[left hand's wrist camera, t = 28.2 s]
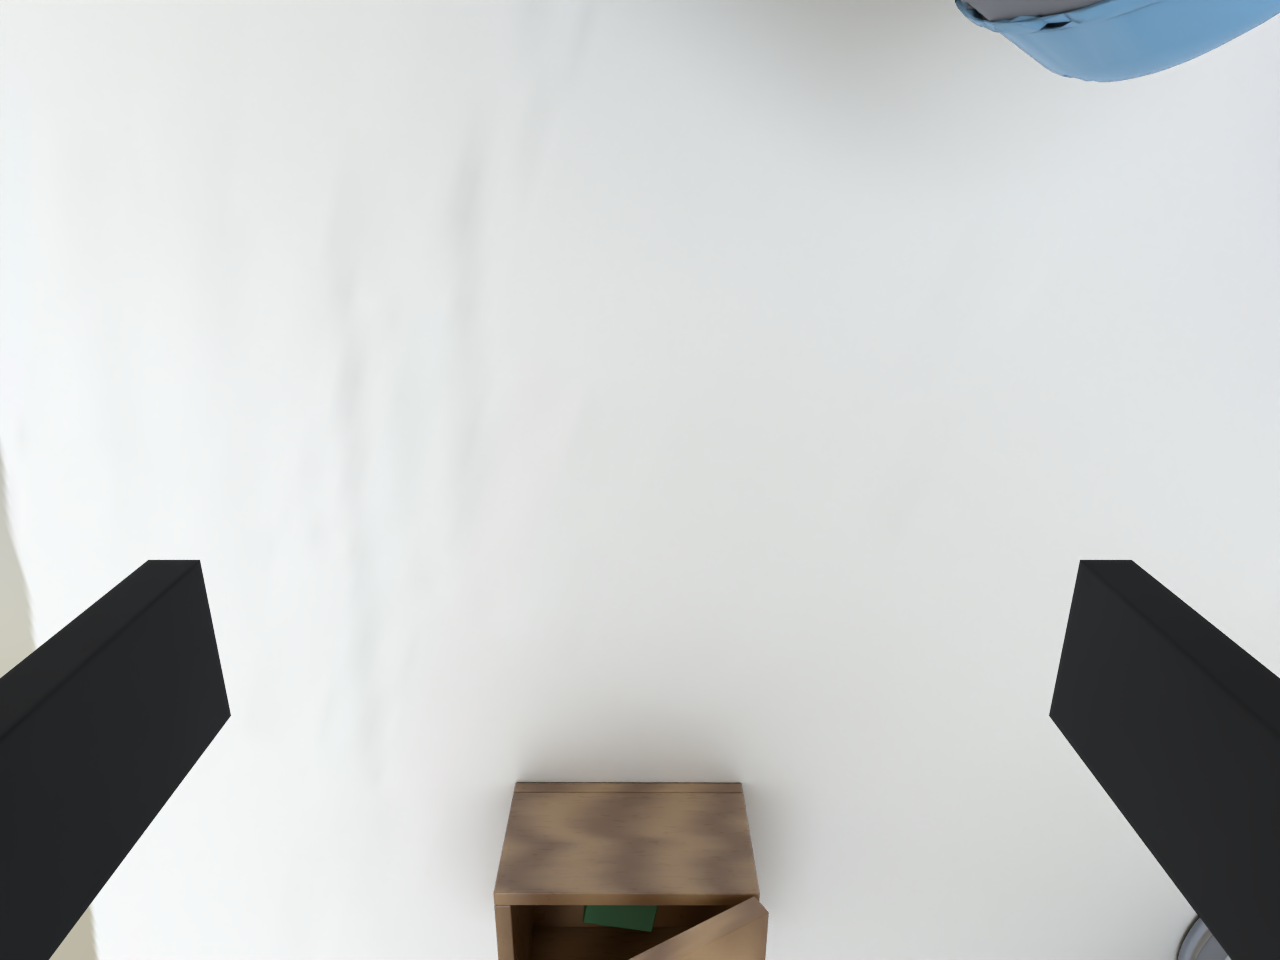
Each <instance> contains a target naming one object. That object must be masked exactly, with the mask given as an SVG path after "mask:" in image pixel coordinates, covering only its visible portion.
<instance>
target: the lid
mask: <svg viewBox="0 0 1280 960" xmlns="http://www.w3.org/2000/svg"><path fill="white" fill-rule="evenodd" d="M768 914H769V913H768V911H767V910H766V909H765V908H764V907H763V906H762V904H761V903H760V902H759V901H758V900H757V899H756V898H755V897H752V898H750V899H748V900H746V901H744V902H742V903H740V904H738V905H736V906H734V907H732V908H730V909H728V910H726V911H724V912H722V913H720V914H718V915H716V916H714V917H712V918H710V919H708V920H706V921H704V922H702V923H700V924H698V925H696V926H694V927H692V928H690V929H688V930H686V931H684V932H682V933H680V934H678V935H676V936H674V937H672V938H670V939H668V940H666V941H664V942H662V943H660V944H659V945H657V946H655V947H653V948H651V949H649V950H647V951H645V952H643V953H641V954H639V955H637V956H635V957H633V958H631V959H629V960H765V955H766V942H767V928H768Z"/></svg>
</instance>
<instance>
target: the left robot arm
mask: <svg viewBox="0 0 1280 960" xmlns="http://www.w3.org/2000/svg"><path fill="white" fill-rule="evenodd" d="M955 3H956V5H957V7H958V8H959V10H960V11H961V12H962V13H963V14H964V15H965V16H966V17H967V18H968V19H969V20H970V21H971V22H973V23H974V24H977V25H979V26H981V27H985V28H987V29H990V30H992V31H994V32H999V33H1001V34H1002V35H1003V36H1005V37H1006V38H1007V39H1009V40H1010V41H1011V42H1012V43H1014V44H1015V45H1016V46H1018V47H1019V48H1020V49H1022V50H1023V51H1024V52H1025V53H1027V54H1028V55H1029V56H1031V57H1032V58H1033V59H1035V60H1036V61H1037V62H1039V63H1040V64H1041V65H1042V66H1044V67H1045V68H1047V69H1048V70H1050V71H1051V72H1054V73H1056V74H1059V75H1061V76H1064V77H1069V78H1078V79H1081V80H1085V81H1097V82H1113V81H1121V80H1127V79H1132V78H1136V77H1141V76H1145V75H1148V74H1152V73H1156V72H1159V71H1162V70H1165V69H1168V68H1171V67H1173V66H1176V65H1179V64H1181V63H1184V62H1186V61H1189V60H1191V59H1194V58H1196V57H1198V56H1200V55H1202V54H1204V53H1207V52H1209V51H1211V50H1213V49H1215V48H1217V47H1219V46H1221V45H1223V44H1225V43H1227V42H1229V41H1231V40H1233V39H1234V38H1236V37H1238V36H1240V35H1242V34H1244V33H1246V32H1247V31H1249V30H1251V29H1253V28H1255V27H1257V26H1258V25H1260V24H1262V23H1264V22H1265V21H1267V20H1269V19H1270V18H1272V17H1274V16H1275V15H1277V14H1278V13H1280V0H955ZM230 716H231V714H230V709H229V704H228V699H227V694H226V689H225V684H224V679H223V674H222V669H221V664H220V659H219V654H218V649H217V644H216V639H215V634H214V629H213V624H212V619H211V614H210V609H209V604H208V599H207V594H206V589H205V583H204V578H203V573H202V568H201V563H200V560H148V561H147V562H145V563H144V564H143V565H142V566H140V567H139V568H138V569H137V570H135V571H134V572H133V573H132V574H130V575H129V576H128V577H127V578H125V579H124V580H123V581H122V582H120V583H119V584H118V585H117V586H115V587H114V588H113V589H112V590H110V591H109V592H108V593H107V594H105V595H104V596H103V597H102V598H100V599H99V600H98V601H97V602H95V603H94V604H93V605H92V606H90V607H89V608H88V609H87V610H85V611H84V612H83V613H82V614H80V615H79V616H78V617H77V618H75V619H74V620H73V621H72V622H70V623H69V624H68V625H67V626H65V627H64V628H63V629H62V630H60V631H59V632H58V633H57V634H55V635H54V636H53V637H52V638H50V639H49V640H48V641H47V642H45V643H44V644H43V645H42V646H40V647H39V648H38V649H37V650H35V651H34V652H33V653H32V654H30V655H29V656H28V657H27V658H25V659H24V660H23V661H22V662H20V663H19V664H18V665H16V666H15V667H14V668H13V669H11V670H10V671H9V672H8V673H6V674H5V675H4V676H3V677H1V678H0V960H49V959H50V957H51V956H52V955H53V953H54V952H55V951H56V949H57V948H58V947H59V945H60V944H61V943H62V941H63V940H64V939H65V937H66V936H67V935H68V933H69V932H70V930H71V929H72V928H73V926H74V925H75V924H76V922H77V921H78V920H79V918H80V917H81V916H82V914H83V913H84V912H85V910H86V909H87V908H88V906H89V905H90V904H91V902H92V901H93V900H94V898H95V897H96V896H97V894H98V893H99V892H100V890H101V889H102V888H103V886H104V885H105V884H106V882H107V881H108V880H109V878H110V877H111V876H112V874H113V873H114V872H115V870H116V869H117V868H118V866H119V865H120V864H121V862H122V861H123V859H124V858H125V857H126V855H127V854H128V853H129V851H130V850H131V849H132V847H133V846H134V845H135V843H136V842H137V841H138V839H139V838H140V837H141V835H142V834H143V833H144V831H145V830H146V829H147V827H148V826H149V825H150V823H151V822H152V821H153V819H154V818H155V817H156V815H157V814H158V813H159V811H160V810H161V809H162V807H163V806H164V805H165V803H166V802H167V801H168V799H169V798H170V796H171V795H172V794H173V792H174V791H175V790H176V788H177V787H178V786H179V784H180V783H181V782H182V780H183V779H184V778H185V776H186V775H187V774H188V772H189V771H190V770H191V768H192V767H193V766H194V764H195V763H196V762H197V760H198V759H199V758H200V756H201V755H202V754H203V752H204V751H205V750H206V748H207V747H208V746H209V744H210V743H211V742H212V740H213V739H214V738H215V736H216V735H217V733H218V732H219V731H220V729H221V728H222V727H223V725H224V724H225V723H226V721H227V720H228V719H229V717H230ZM1049 716H1050V717H1051V719H1052V720H1053V721H1054V723H1055V724H1056V725H1057V727H1058V728H1059V729H1060V731H1061V732H1062V733H1063V735H1064V736H1065V738H1066V739H1067V740H1068V742H1069V743H1070V744H1071V746H1072V747H1073V748H1074V750H1075V751H1076V752H1077V754H1078V755H1079V756H1080V758H1081V759H1082V760H1083V762H1084V763H1085V764H1086V766H1087V767H1088V768H1089V770H1090V771H1091V772H1092V774H1093V775H1094V776H1095V778H1096V779H1097V780H1098V782H1099V783H1100V784H1101V786H1102V787H1103V788H1104V790H1105V791H1106V792H1107V794H1108V795H1109V796H1110V798H1111V799H1112V801H1113V802H1114V803H1115V805H1116V806H1117V807H1118V809H1119V810H1120V811H1121V813H1122V814H1123V815H1124V817H1125V818H1126V819H1127V821H1128V822H1129V823H1130V825H1131V826H1132V827H1133V829H1134V830H1135V831H1136V833H1137V834H1138V835H1139V837H1140V838H1141V839H1142V841H1143V842H1144V843H1145V845H1146V846H1147V847H1148V849H1149V850H1150V851H1151V853H1152V854H1153V855H1154V857H1155V858H1156V859H1157V861H1158V862H1159V864H1160V865H1161V866H1162V868H1163V869H1164V870H1165V872H1166V873H1167V874H1168V876H1169V877H1170V878H1171V880H1172V881H1173V882H1174V884H1175V885H1176V886H1177V888H1178V889H1179V890H1180V892H1181V893H1182V894H1183V896H1184V897H1185V898H1186V900H1187V901H1188V902H1189V904H1190V905H1191V906H1192V908H1193V909H1194V910H1195V912H1196V913H1197V914H1198V916H1199V917H1200V918H1201V920H1202V921H1203V922H1204V924H1205V925H1206V927H1207V928H1208V929H1209V931H1210V932H1211V933H1212V935H1213V936H1214V937H1215V939H1216V940H1217V941H1218V943H1219V944H1220V945H1221V947H1222V948H1223V949H1224V951H1225V952H1226V953H1227V955H1228V956H1229V957H1230V959H1231V960H1280V678H1279V677H1277V676H1276V675H1275V674H1274V673H1272V672H1271V671H1270V670H1269V669H1267V668H1266V667H1265V666H1264V665H1262V664H1261V663H1260V662H1258V661H1257V660H1256V659H1255V658H1253V657H1252V656H1251V655H1250V654H1248V653H1247V652H1246V651H1245V650H1243V649H1242V648H1241V647H1240V646H1238V645H1237V644H1236V643H1235V642H1233V641H1232V640H1231V639H1230V638H1228V637H1227V636H1226V635H1225V634H1223V633H1222V632H1221V631H1220V630H1218V629H1217V628H1216V627H1215V626H1213V625H1212V624H1211V623H1210V622H1208V621H1207V620H1206V619H1205V618H1203V617H1202V616H1201V615H1200V614H1198V613H1197V612H1196V611H1195V610H1193V609H1192V608H1191V607H1190V606H1188V605H1187V604H1186V603H1185V602H1183V601H1182V600H1181V599H1180V598H1178V597H1177V596H1176V595H1175V594H1173V593H1172V592H1171V591H1170V590H1168V589H1167V588H1166V587H1165V586H1163V585H1162V584H1161V583H1160V582H1158V581H1157V580H1156V579H1155V578H1153V577H1152V576H1151V575H1150V574H1148V573H1147V572H1146V571H1145V570H1143V569H1142V568H1141V567H1140V566H1138V565H1137V564H1136V563H1135V562H1133V561H1132V560H1080V563H1079V568H1078V573H1077V578H1076V583H1075V589H1074V594H1073V599H1072V604H1071V609H1070V614H1069V619H1068V624H1067V629H1066V634H1065V639H1064V644H1063V649H1062V654H1061V659H1060V664H1059V669H1058V674H1057V679H1056V684H1055V689H1054V694H1053V699H1052V704H1051V709H1050V714H1049Z"/></svg>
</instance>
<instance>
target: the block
mask: <svg viewBox="0 0 1280 960" xmlns="http://www.w3.org/2000/svg"><path fill="white" fill-rule="evenodd" d="M657 909H658V905H584V913H583V922H584V923H590V924H597V925H604V926H612V927H619V928H626V929H633V930H641V931H648V932H652V929H653V925H654V921H655V917H656V913H657Z"/></svg>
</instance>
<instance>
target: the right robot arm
mask: <svg viewBox="0 0 1280 960" xmlns="http://www.w3.org/2000/svg"><path fill="white" fill-rule="evenodd" d="M1178 960H1231V959H1230V957H1229V956H1228V955H1227V953H1226V952H1225V951H1224V949H1223V948H1222V947H1221V945H1220V944H1219V943H1218V941H1217V940H1216V939H1215V937H1214V936H1213V935H1212V933H1211V932H1210V931H1209V929H1208V928H1207V927H1206V925H1205V924H1204V922H1203V921H1202V920H1201V918H1199V919H1198V920H1197V921H1196V922H1195V924H1194V925H1193V926H1192V928H1191V929H1190V931H1189V932H1188V934H1187V936H1186V937H1185V939H1184V942H1183V944H1182V946H1181V949H1180V952H1179V956H1178Z"/></svg>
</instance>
